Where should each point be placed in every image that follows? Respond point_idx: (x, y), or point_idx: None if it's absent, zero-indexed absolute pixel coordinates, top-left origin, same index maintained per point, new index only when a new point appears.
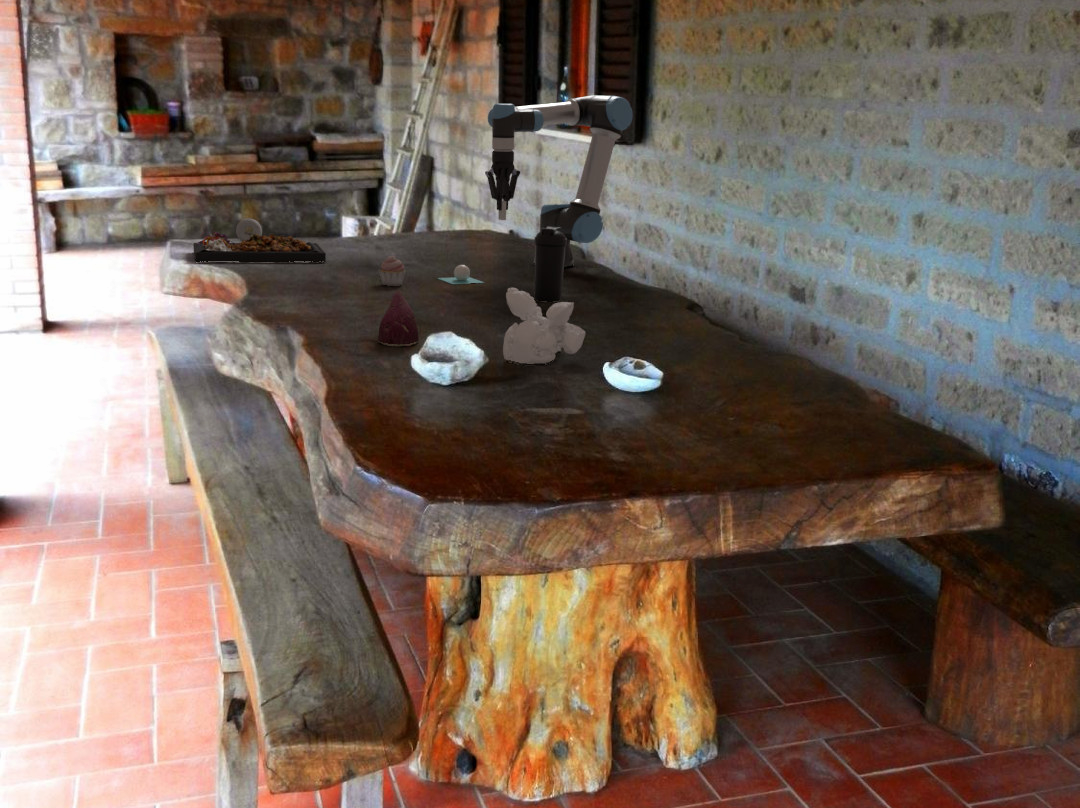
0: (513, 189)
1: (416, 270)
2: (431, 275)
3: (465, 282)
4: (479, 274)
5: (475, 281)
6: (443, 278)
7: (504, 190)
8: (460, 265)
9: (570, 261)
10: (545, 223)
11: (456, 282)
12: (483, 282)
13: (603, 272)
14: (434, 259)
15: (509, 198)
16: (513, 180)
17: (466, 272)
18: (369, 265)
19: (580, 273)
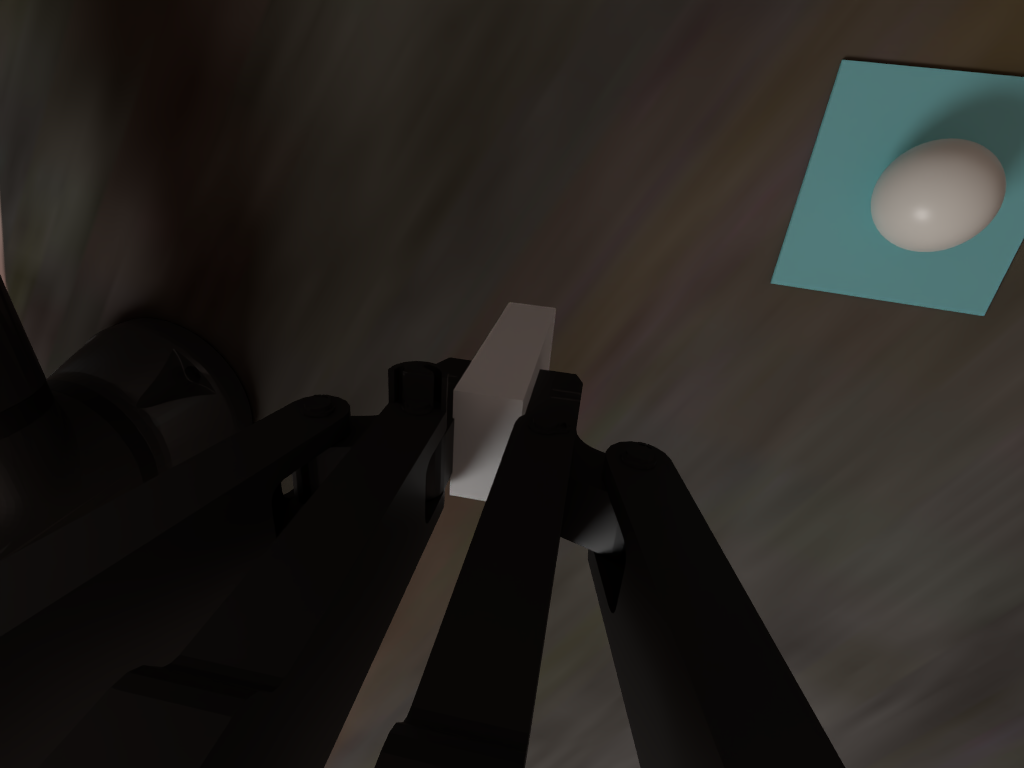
0: (205, 477)
1: (859, 546)
2: (914, 412)
3: (961, 108)
4: (644, 336)
5: (866, 119)
6: (960, 291)
7: (395, 551)
8: (982, 198)
9: (104, 330)
10: (51, 508)
11: (1019, 130)
12: (849, 62)
13: (17, 143)
14: (576, 683)
15: (364, 424)
16: (12, 658)
17: (955, 140)
18: (951, 712)
19: (134, 160)
